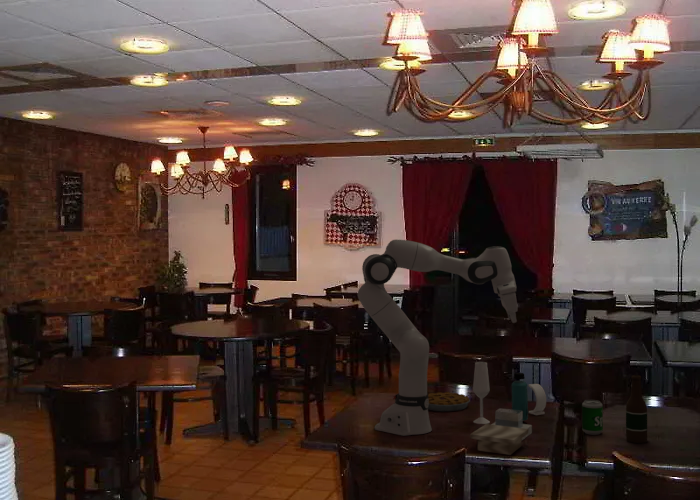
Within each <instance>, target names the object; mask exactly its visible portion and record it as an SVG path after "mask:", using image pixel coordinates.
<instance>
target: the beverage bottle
mask: <svg viewBox="0 0 700 500" xmlns="http://www.w3.org/2000/svg"><path fill="white" fill-rule="evenodd" d="M513 376H514V377H513V379H515V381H513V382H512V383H511V410H520V411H523V421H527V420H529V406H528V405H529V401H528V400H529V399H528V383H527V382H525V381H524V379H526V378H525V373H523V372H515V373H514V375H513Z"/></svg>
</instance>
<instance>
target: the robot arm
mask: <svg viewBox="0 0 700 500" xmlns="http://www.w3.org/2000/svg"><path fill="white" fill-rule="evenodd" d="M512 267H513V266H512V263H511V258H510V255H509V253H508V250H507V249H506V248H505V247H504V246H501V245H499V246H497V245H495V246H488V247H485V250H484V251H483V252H482V253H481V254H479V255H478V256H477V257H468V258H467V257H466V258H459V257H458V258H457V257H453V256H450V255H444V254H442V253H440V252H438V251H437V250H436V249H435V248H433V247H431V246H430V245H427V244H424V243H422V242H417V241H412V240H408V239H407V240H406V239H392V240H391V241H389V243H388V244H387V246H386V247H385V251H384V252H383V253H382V254H377V253H373V254H370V255H368V256H367V257H366V258H365V259H364V260H363V263H362V267H361V269H362V274H363V281H364V283H363V284H362V285H361V286H360V287H359V289H358V291H357V298H358V300H359V302H360V304H361V306H362V308H364V310H365V312H366V313H367V315H368V316H370V318H371V319H372V320H373V322H374V323H375V324H376V325H377V327H378V328H379V329H380V330H381V331H382V333H384V335H385V336H386V337H387V338H388V340H389V341H390V342H391V343H392V344H393V345H394V347H395V349H397V350H398V352H399V355H400V358H399V371H398V393H396V394H395V395H394V396H393V397H392V400H394V402H393V403H392V404H391V405H390V406H389V407H388V408H386V409H385V410H384V411H382V413H381V416H380V420H379V421H380V422H378V423H376V424H375V426H374V430H375V431H380V432H385V433H388V434H394V435H397V436H402V437H403V436H411V435H412V436H413V435H423V434H427V433H430V432H431V431H433V429H432V425H431V422H430V416H429V409H428V405H429V400H428V394H429V393H428V370H429V369H428V368H429V357H430V356H429V355H430V343H429V340H428V339H427V337H425V336H424V335H423V334H422V333H421V332H420V331H419V330H418V329H417V328H416V326H415V324H414V323H413V322H412V321H411V320H410V319H409V318H408V316H407V314H406V313H405V312H404V311H403V310H402V308H401V307H400V306H399V305H398V304H397V302H396V301H395V300H394V299H393V297H392V296H391V295H390V294H389V292H387V290H386V287H385V284H387V283H388V282H389V281H390V280H391V279H392V278H393V276H394V274H395V272H396V270H397V269H398V268H400V269H405V270H409V271H414V272H422V273H429V272H433V271H442V272H445V273H451V274H455V275H458V276H460V277H461V278H462V279H463V280H465V281H466V282H468V283H471V284H472V283H473V284H475V285H483V284H486V283H487V282H490V281H491V286H492V287H493V288H492V289H493V292H494V293H495V294H497V296H498V297H500V301H501V302H500V303H501V306H502V307H503V308H504V309H505V311H506V314H507V318H508V319H509V320H511V323H512V324H515V323H517V322H518V320H517V313H516V312H518V301H517V296H516V295H517V294H516V292H517V284H516V283H517V282H516V279H515V275H514V273H513V271H512Z"/></svg>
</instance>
